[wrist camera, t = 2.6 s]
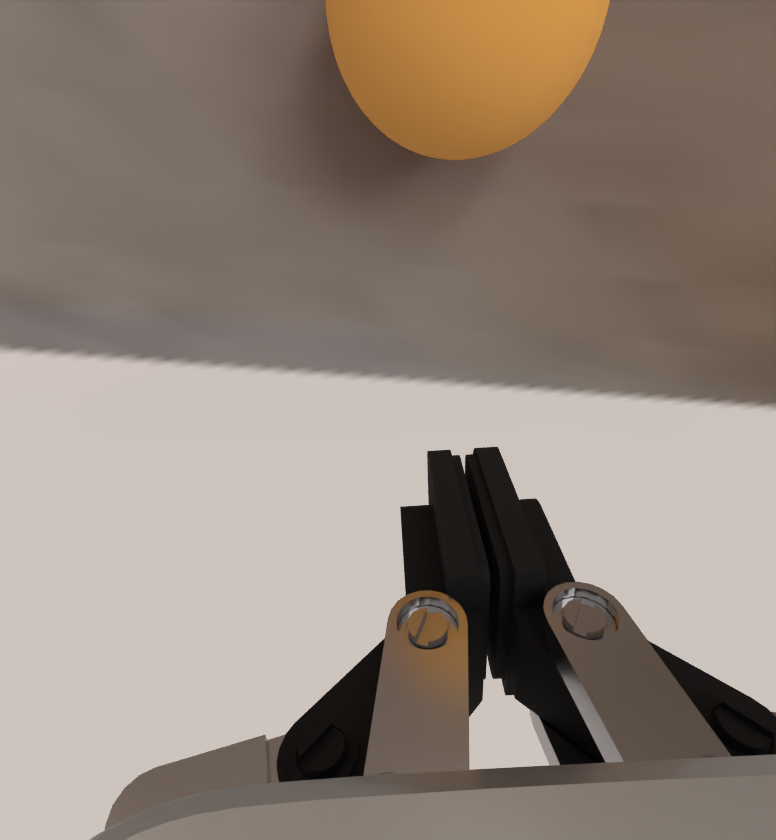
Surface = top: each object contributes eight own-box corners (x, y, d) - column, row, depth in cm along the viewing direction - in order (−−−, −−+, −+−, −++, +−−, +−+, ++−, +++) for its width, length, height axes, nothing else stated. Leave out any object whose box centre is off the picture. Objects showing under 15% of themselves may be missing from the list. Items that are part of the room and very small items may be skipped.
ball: (574, -139, 11) (724, -356, 6) (548, 148, 14) (638, 155, 9) (323, -117, 11) (276, -312, 6) (349, 162, 14) (329, 176, 9)
